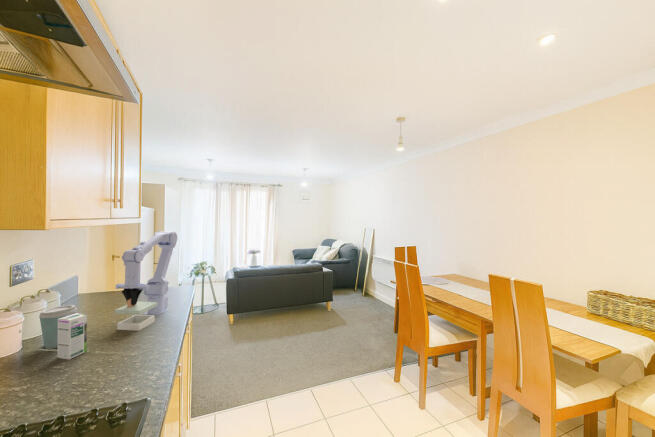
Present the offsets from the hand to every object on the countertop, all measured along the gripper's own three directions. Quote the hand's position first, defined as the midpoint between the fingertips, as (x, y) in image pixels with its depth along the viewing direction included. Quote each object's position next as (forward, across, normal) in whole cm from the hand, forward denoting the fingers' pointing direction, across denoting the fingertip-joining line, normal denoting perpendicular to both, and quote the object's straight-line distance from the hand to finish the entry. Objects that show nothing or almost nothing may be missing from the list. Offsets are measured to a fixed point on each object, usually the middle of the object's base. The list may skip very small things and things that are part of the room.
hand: (132, 304), depth 121 cm
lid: (+2, +2, 0) cm, 3 cm away
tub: (+10, +2, 0) cm, 11 cm away
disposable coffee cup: (+11, -14, -19) cm, 26 cm away
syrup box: (+11, -2, -25) cm, 27 cm away
